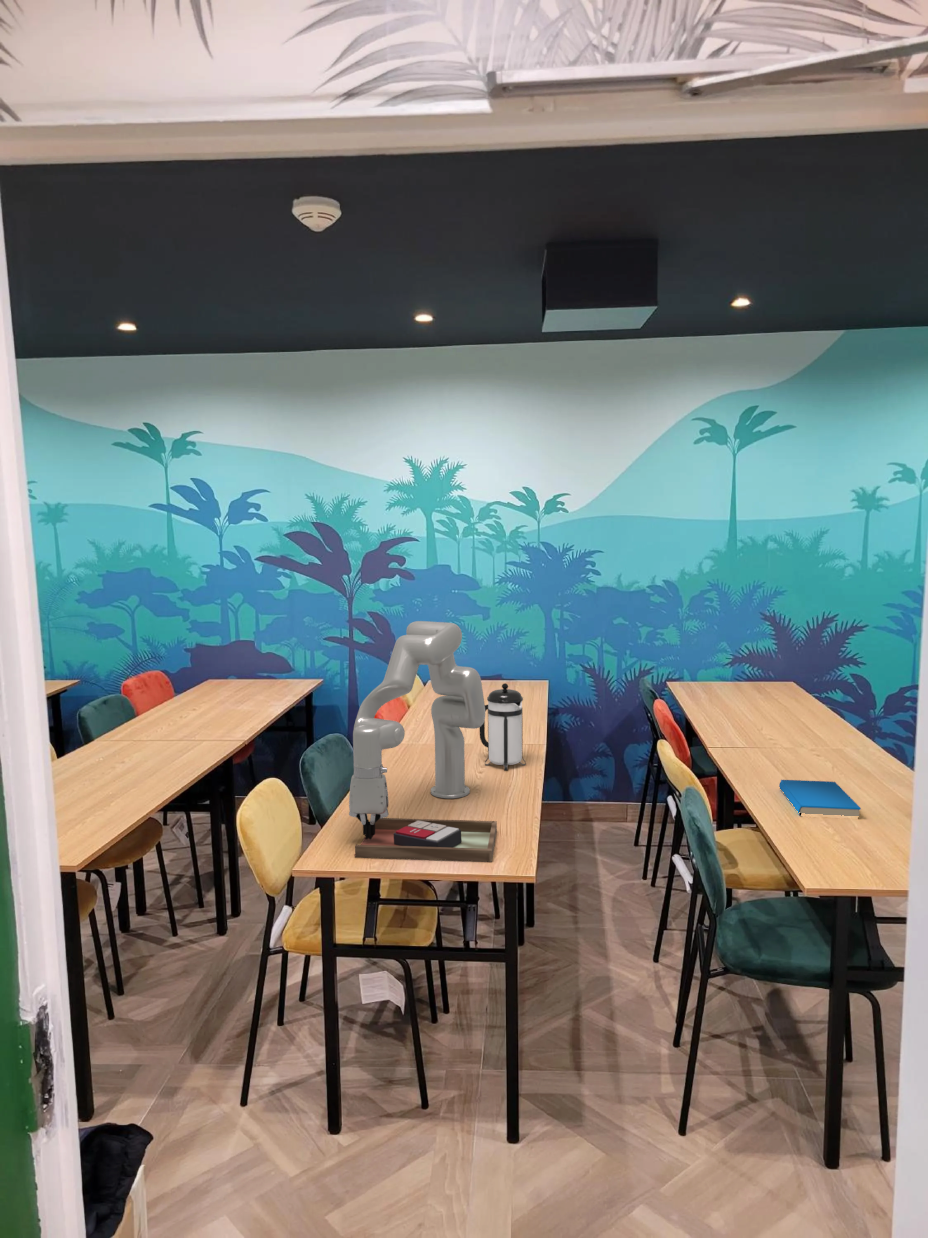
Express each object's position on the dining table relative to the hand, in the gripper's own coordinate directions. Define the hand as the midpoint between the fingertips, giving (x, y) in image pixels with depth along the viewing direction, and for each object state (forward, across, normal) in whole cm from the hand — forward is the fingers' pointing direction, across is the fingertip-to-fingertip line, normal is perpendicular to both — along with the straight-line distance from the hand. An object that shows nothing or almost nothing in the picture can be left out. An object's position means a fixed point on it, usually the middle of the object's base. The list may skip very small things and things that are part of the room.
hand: (369, 837), depth 214 cm
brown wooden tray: (+1, -16, 0) cm, 16 cm away
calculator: (+2, -16, 0) cm, 16 cm away
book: (+2, -130, -41) cm, 137 cm away
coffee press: (+2, -32, -76) cm, 82 cm away
